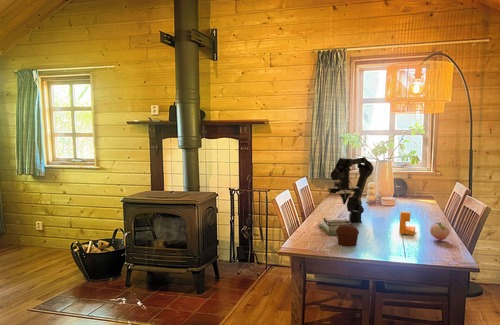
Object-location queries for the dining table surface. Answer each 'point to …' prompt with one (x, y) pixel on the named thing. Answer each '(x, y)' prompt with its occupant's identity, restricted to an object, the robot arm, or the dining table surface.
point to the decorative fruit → (439, 231)
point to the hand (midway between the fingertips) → (344, 204)
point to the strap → (336, 224)
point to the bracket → (403, 228)
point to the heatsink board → (331, 229)
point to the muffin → (347, 235)
